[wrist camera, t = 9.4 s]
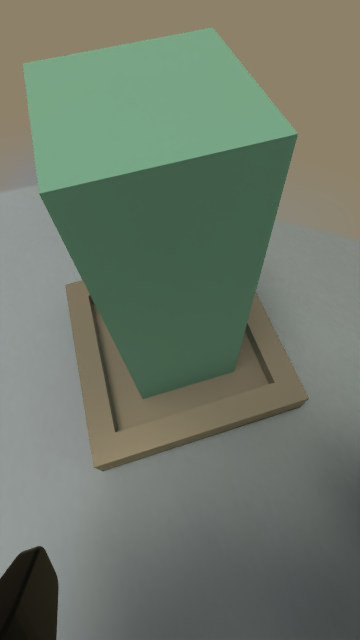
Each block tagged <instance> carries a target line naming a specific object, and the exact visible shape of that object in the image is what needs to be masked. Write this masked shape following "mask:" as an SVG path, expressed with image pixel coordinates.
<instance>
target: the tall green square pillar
mask: <svg viewBox="0 0 360 640" xmlns="http://www.w3.org/2000/svg"><path fill="white" fill-rule="evenodd" d="M23 69H24V78H25V86H26V93H27V101H28V109H29V117H30V125H31V132H32V140H33V149H34V156H35V164H36V172H37V179H38V188H39V194H40V196H41V198H42V200H43V202H44V204H45V206H46V208H47V210H48V212H49V214H50V216H51V218H52V220H53V222H54V224H55V226H56V228H57V230H58V232H59V234H60V236H61V238H62V240H63V242H64V244H65V246H66V248H67V250H68V252H69V254H70V256H71V258H72V260H73V262H74V264H75V266H76V268H77V270H78V272H79V274H80V276H81V278H82V280H83V282H84V284H85V286H86V288H87V290H88V292H89V294H90V296H91V298H92V300H93V302H94V304H95V305H96V307H97V309H98V311H99V313H100V315H101V317H102V319H103V321H104V323H105V325H106V327H107V329H108V331H109V333H110V335H111V337H112V339H113V341H114V343H115V345H116V347H117V349H118V351H119V353H120V355H121V357H122V359H123V361H124V363H125V365H126V367H127V369H128V371H129V373H130V375H131V377H132V379H133V381H134V383H135V385H136V387H137V389H138V391H139V393H140V395H141V397H142V399H145V398H149V397H152V396H155V395H159V394H162V393H165V392H169V391H172V390H175V389H179V388H182V387H185V386H188V385H192V384H195V383H198V382H202V381H205V380H208V379H212V378H215V377H218V376H222V375H225V374H228V373H231V372H234V370H235V366H236V362H237V358H238V355H239V351H240V347H241V344H242V340H243V336H244V332H245V329H246V325H247V321H248V318H249V314H250V310H251V306H252V303H253V299H254V295H255V292H256V288H257V284H258V280H259V277H260V273H261V269H262V266H263V262H264V258H265V254H266V251H267V247H268V243H269V239H270V236H271V232H272V228H273V225H274V221H275V217H276V213H277V210H278V206H279V202H280V198H281V195H282V191H283V187H284V184H285V180H286V176H287V173H288V169H289V165H290V161H291V158H292V153H293V150H294V147H295V143H296V139H297V135H298V133H297V132H296V131H295V130H294V128H293V127H292V126H291V125H290V124H289V122H288V121H287V120H286V118H285V117H284V116H283V115H282V114H281V112H280V111H279V110H278V109H277V107H276V106H275V105H274V104H273V102H272V101H271V100H270V99H269V98H268V96H267V95H266V94H265V92H264V91H263V90H262V89H261V87H260V86H259V85H258V84H257V82H256V81H255V80H254V79H253V77H252V76H251V75H250V74H249V72H248V71H247V70H246V69H245V67H244V66H243V65H242V64H241V63H240V61H239V60H238V59H237V58H236V56H235V55H234V54H233V52H232V51H231V50H230V49H229V48H228V46H227V45H226V44H225V43H224V41H223V40H222V39H221V38H220V36H219V35H218V34H217V33H216V31H215V30H214V29H213V28H207V29H202V30H197V31H192V32H187V33H181V34H176V35H171V36H166V37H161V38H155V39H150V40H144V41H139V42H134V43H129V44H124V45H119V46H113V47H108V48H102V49H97V50H92V51H87V52H82V53H76V54H71V55H66V56H61V57H55V58H50V59H45V60H39V61H34V62H29V63H24V64H23Z"/></svg>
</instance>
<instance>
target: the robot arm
mask: <svg viewBox="0 0 360 640" xmlns="http://www.w3.org/2000/svg"><path fill="white" fill-rule="evenodd" d="M57 610H58V578H57V575H56V572H55V570H54V568H53V566H52V564H51V561H50V559H49V557H48V555H47V553H46V551H45V549H44V548H43V547H41V546H37V547H34V548H32V549H29V550H26V551H23V552H21V553H20V554H19V555H18V556H17V557H16V558H15V560H14V561H13V562H12V564H11V565H10V566H9V568H8V569H7V570H6V572H5V573H4V574H3V576H2V577H1V578H0V640H56V633H57Z"/></svg>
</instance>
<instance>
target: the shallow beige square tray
mask: <svg viewBox="0 0 360 640" xmlns="http://www.w3.org/2000/svg"><path fill="white" fill-rule="evenodd" d="M65 287H66V293H67V300H68V306H69V312H70V319H71V325H72V331H73V338H74V344H75V351H76V357H77V363H78V370H79V376H80V382H81V389H82V395H83V402H84V408H85V414H86V421H87V427H88V433H89V440H90V446H91V453H92V459H93V465H94V468H96V469H99V470H102V471H104V470H107V469H110V468H113V467H116V466H120V465H123V464H126V463H129V462H132V461H135V460H138V459H141V458H144V457H147V456H150V455H154V454H157V453H160V452H163V451H166V450H169V449H172V448H175V447H178V446H181V445H184V444H187V443H191V442H194V441H197V440H200V439H203V438H206V437H209V436H212V435H215V434H218V433H221V432H225V431H228V430H231V429H234V428H237V427H240V426H243V425H246V424H249V423H252V422H255V421H259V420H262V419H265V418H268V417H271V416H274V415H277V414H280V413H283V412H286V411H289V410H293V409H296V408H299V407H300V406H301V405H303V404H304V403H305V402H306V401H307V400H308V399H309V398H308V396H307V394H306V392H305V390H304V388H303V386H302V384H301V382H300V380H299V378H298V376H297V374H296V372H295V370H294V368H293V366H292V364H291V362H290V360H289V358H288V356H287V354H286V352H285V350H284V348H283V346H282V344H281V342H280V340H279V338H278V336H277V334H276V332H275V330H274V328H273V326H272V324H271V322H270V320H269V318H268V316H267V314H266V312H265V310H264V308H263V306H262V304H261V302H260V300H259V298H258V296H257V294H256V292H255V295H254V299H253V303H252V306H251V310H250V314H249V318H248V321H247V325H246V329H245V332H244V336H243V340H242V344H241V347H240V351H239V355H238V358H237V362H236V366H235V370H234V372H231V373H228V374H225V375H222V376H218V377H215V378H212V379H208V380H205V381H202V382H198V383H195V384H192V385H188V386H185V387H182V388H179V389H175V390H172V391H169V392H165V393H162V394H159V395H155V396H152V397H149V398H145V399H142V397H141V395H140V393H139V391H138V389H137V387H136V385H135V383H134V381H133V379H132V377H131V375H130V373H129V371H128V369H127V367H126V365H125V363H124V361H123V359H122V357H121V355H120V353H119V351H118V349H117V347H116V345H115V343H114V341H113V339H112V337H111V335H110V333H109V331H108V329H107V327H106V325H105V323H104V321H103V319H102V317H101V315H100V313H99V311H98V309H97V307H96V305H95V304H94V302H93V300H92V298H91V296H90V294H89V292H88V290H87V288H86V286H85V284H84V282H83V280H82V281H78V282H74V283H71V284H67V285H65Z"/></svg>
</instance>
